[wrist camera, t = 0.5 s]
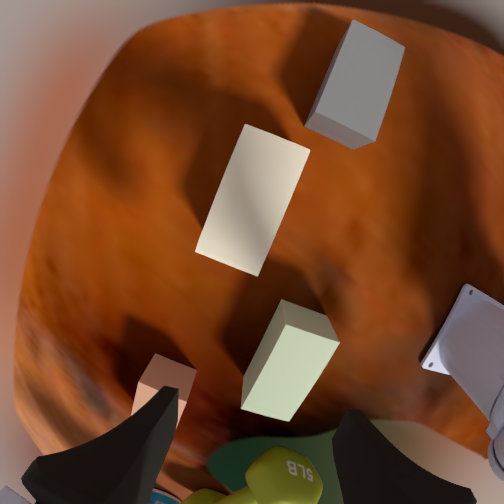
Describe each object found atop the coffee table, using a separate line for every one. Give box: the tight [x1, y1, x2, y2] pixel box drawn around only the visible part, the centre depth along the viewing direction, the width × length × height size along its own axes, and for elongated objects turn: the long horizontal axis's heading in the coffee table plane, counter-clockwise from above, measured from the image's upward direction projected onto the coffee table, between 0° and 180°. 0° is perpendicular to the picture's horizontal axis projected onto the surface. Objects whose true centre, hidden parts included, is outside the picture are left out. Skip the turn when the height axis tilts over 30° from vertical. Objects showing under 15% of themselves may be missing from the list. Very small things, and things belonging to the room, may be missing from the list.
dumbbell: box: [180, 446, 323, 504], centre depth 21 cm, size 16×8×7 cm, turn 141°
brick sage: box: [241, 299, 340, 421], centre depth 19 cm, size 4×7×4 cm, turn 158°
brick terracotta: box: [131, 353, 197, 427], centre depth 20 cm, size 4×7×4 cm, turn 158°
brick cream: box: [195, 124, 310, 277], centre depth 16 cm, size 4×7×4 cm, turn 158°
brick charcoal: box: [304, 20, 405, 150], centre depth 15 cm, size 4×7×4 cm, turn 158°
